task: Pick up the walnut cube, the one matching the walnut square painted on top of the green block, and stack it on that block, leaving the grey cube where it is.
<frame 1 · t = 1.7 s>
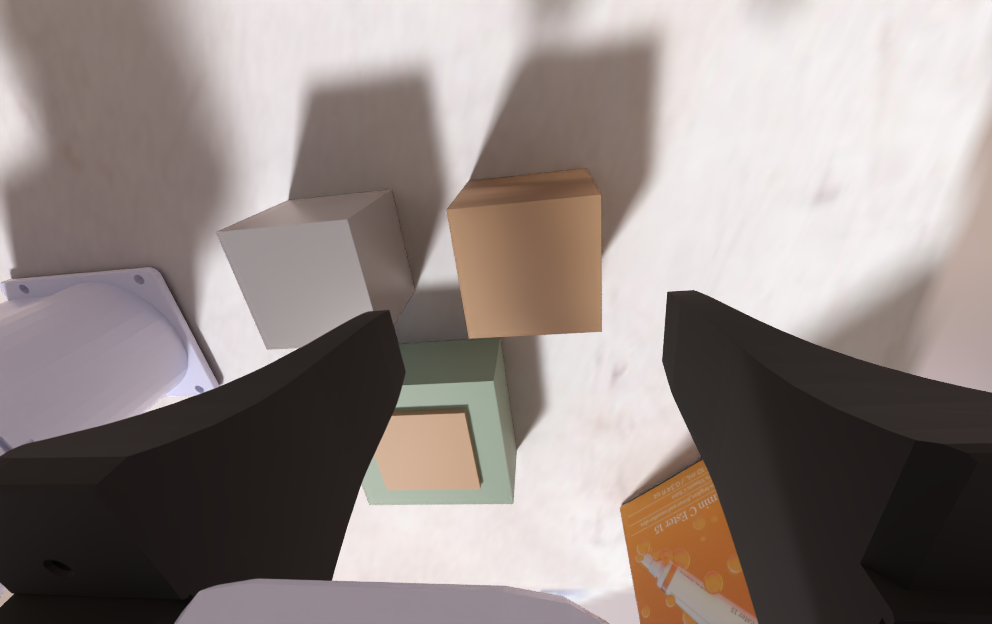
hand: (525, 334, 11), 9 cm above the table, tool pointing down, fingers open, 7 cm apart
grey cube: (354, 246, 20), on the table
walnut cube: (531, 231, 19), on the table
green block: (441, 397, 24), on the table
small box: (699, 498, 26), on the table
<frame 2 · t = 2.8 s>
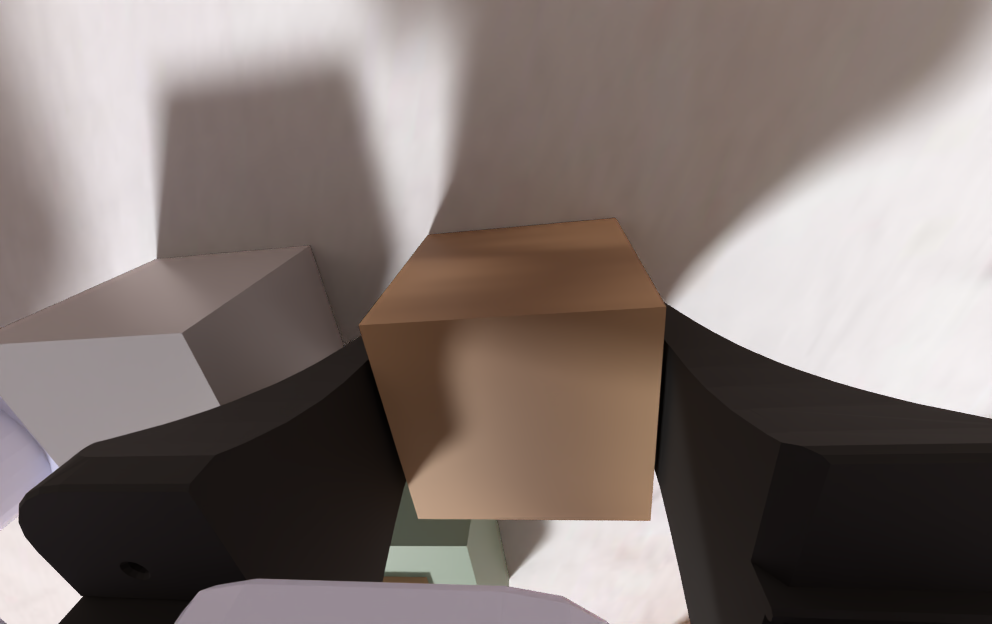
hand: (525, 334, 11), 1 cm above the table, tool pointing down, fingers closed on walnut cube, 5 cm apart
grey cube: (264, 324, 14), on the table
walnut cube: (526, 309, 12), on the table, touching gripper
green block: (404, 514, 18), on the table
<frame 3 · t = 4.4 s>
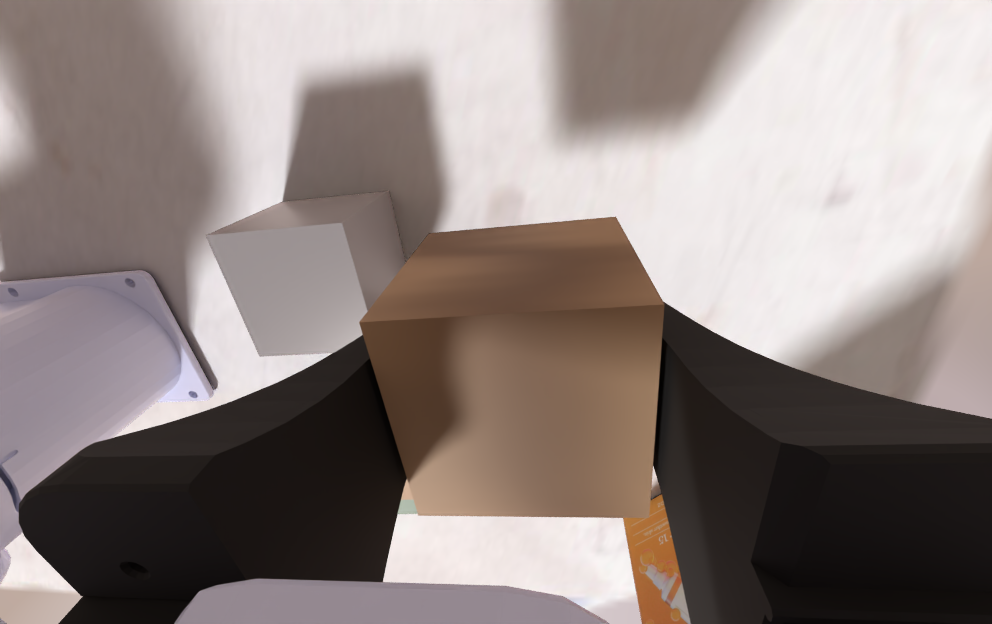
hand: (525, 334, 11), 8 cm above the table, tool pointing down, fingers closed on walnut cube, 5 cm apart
grey cube: (351, 249, 20), on the table
walnut cube: (527, 308, 12), point 7 cm above the table, touching gripper
green block: (440, 404, 24), on the table
small box: (704, 506, 26), on the table
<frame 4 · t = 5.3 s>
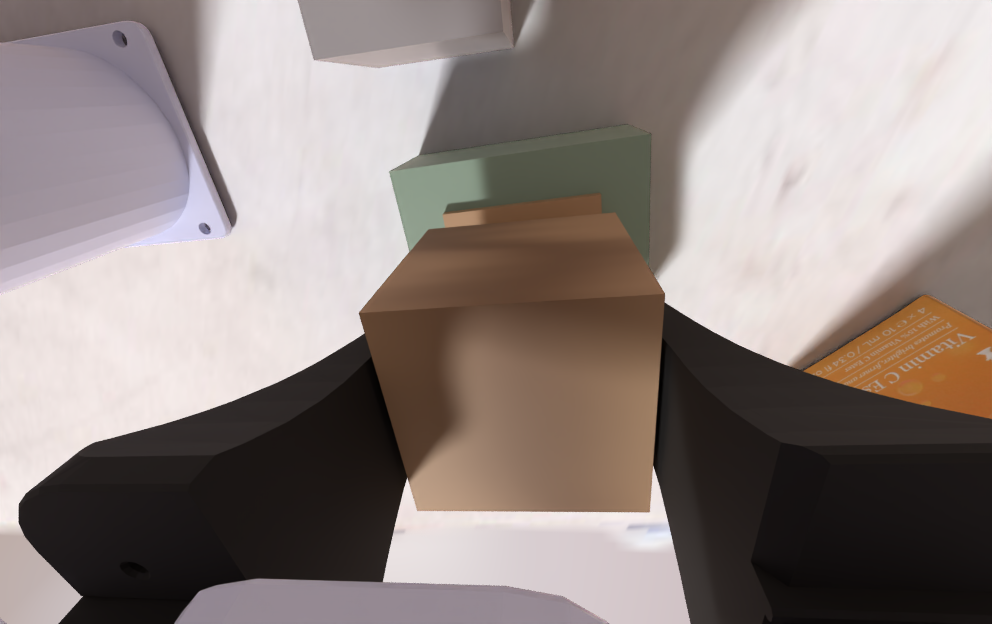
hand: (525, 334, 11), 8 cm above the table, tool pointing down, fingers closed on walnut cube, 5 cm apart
walnut cube: (526, 304, 12), point 6 cm above the table, touching gripper
green block: (530, 238, 18), on the table
small box: (863, 384, 20), on the table
when the fingers open (7 cm above the table, at t = 6.0 s): walnut cube drops 1 cm, point 4 cm above the table.
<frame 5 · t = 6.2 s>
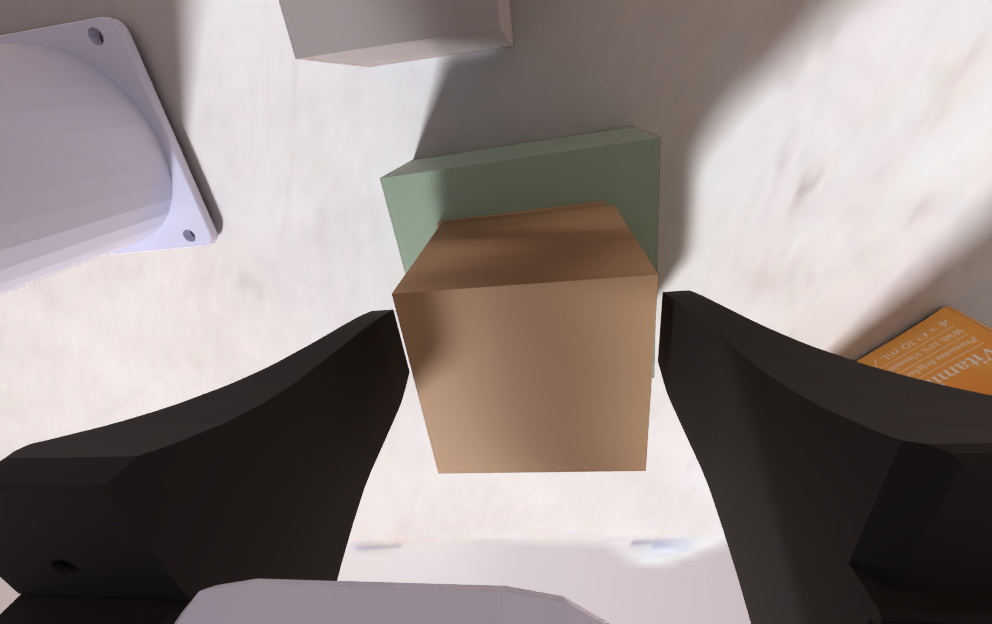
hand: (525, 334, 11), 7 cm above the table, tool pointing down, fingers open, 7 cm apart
walnut cube: (532, 290, 13), point 4 cm above the table
green block: (531, 246, 17), on the table
small box: (879, 399, 19), on the table
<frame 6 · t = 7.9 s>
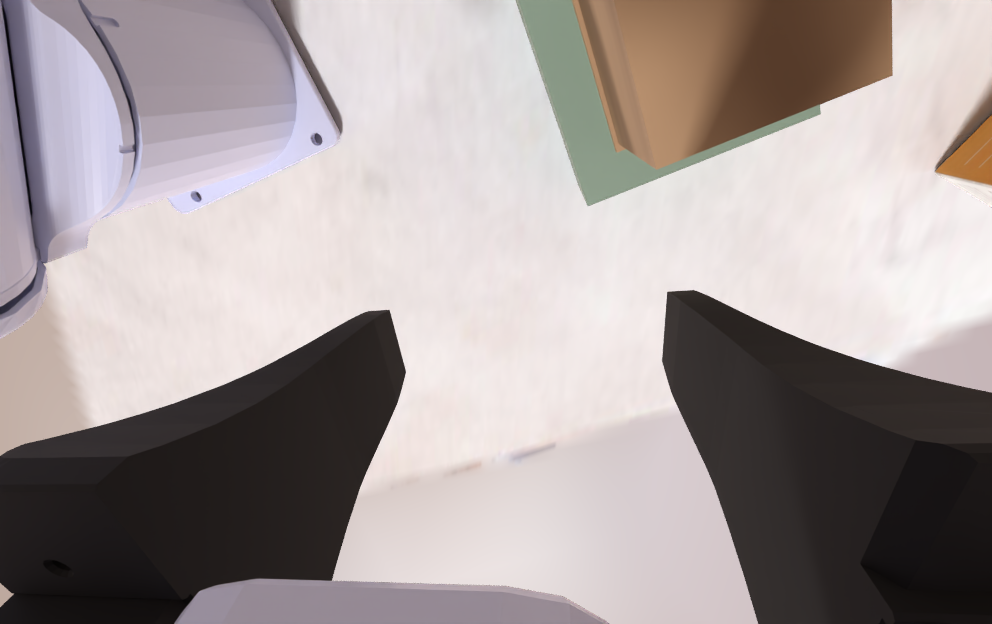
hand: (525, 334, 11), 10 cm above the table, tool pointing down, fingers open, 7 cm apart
walnut cube: (676, 30, 13), point 4 cm above the table, touching green block
green block: (641, 50, 17), on the table, touching walnut cube
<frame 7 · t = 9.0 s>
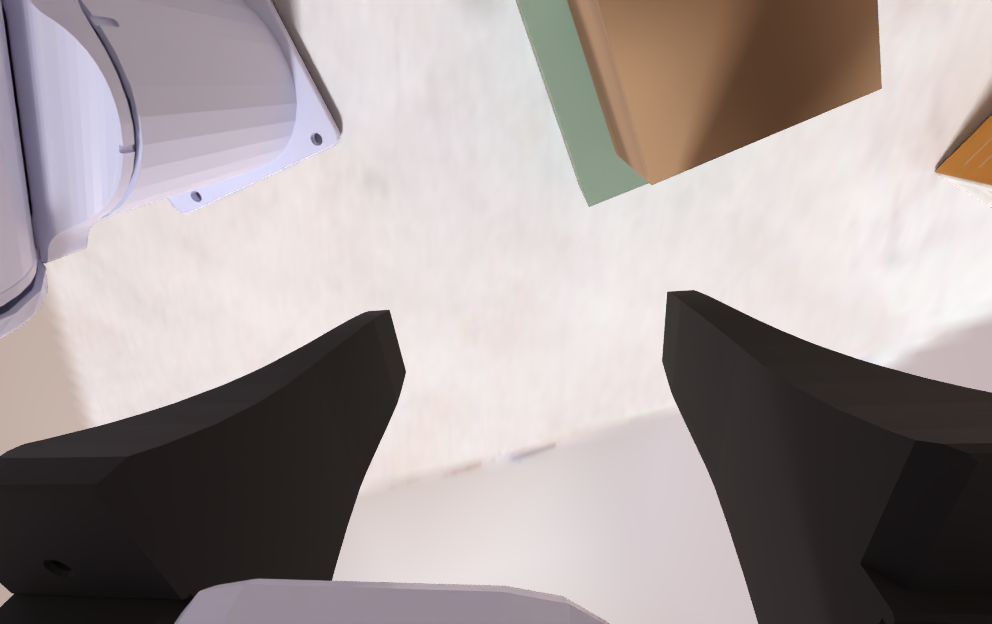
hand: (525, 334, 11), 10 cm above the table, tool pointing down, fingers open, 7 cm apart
walnut cube: (669, 42, 13), point 4 cm above the table, touching green block
green block: (642, 50, 17), on the table, touching walnut cube
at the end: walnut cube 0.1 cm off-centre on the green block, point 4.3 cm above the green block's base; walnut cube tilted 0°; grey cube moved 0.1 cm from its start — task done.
